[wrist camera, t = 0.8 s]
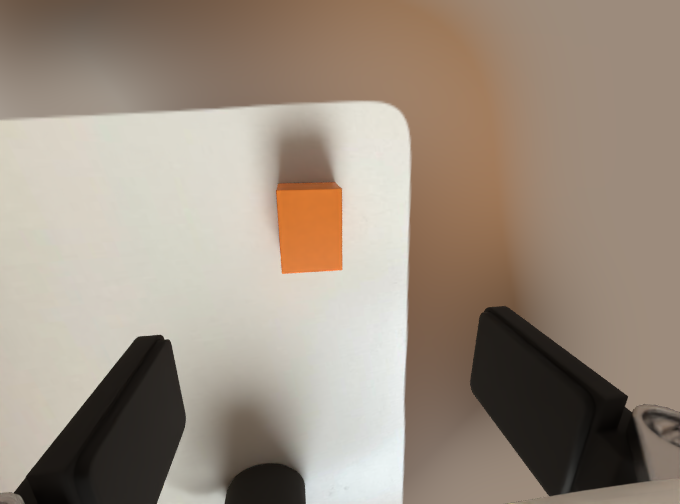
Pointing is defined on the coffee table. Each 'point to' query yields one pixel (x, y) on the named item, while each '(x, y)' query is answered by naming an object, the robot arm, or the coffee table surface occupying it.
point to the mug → (267, 486)
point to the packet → (310, 226)
